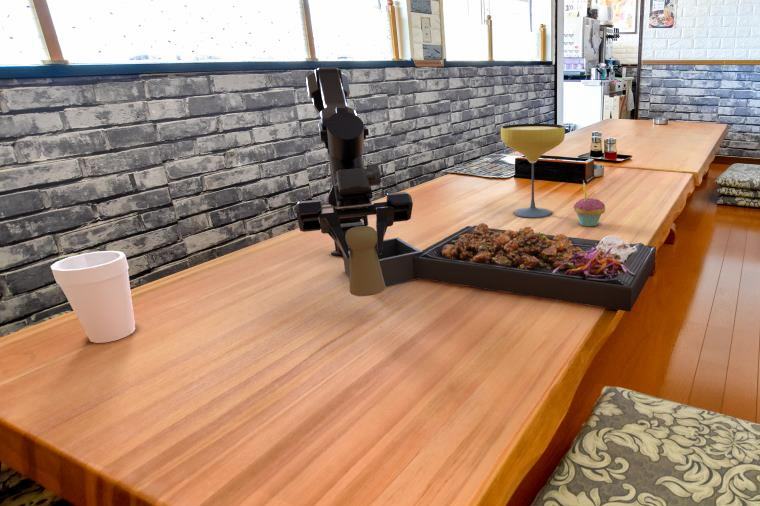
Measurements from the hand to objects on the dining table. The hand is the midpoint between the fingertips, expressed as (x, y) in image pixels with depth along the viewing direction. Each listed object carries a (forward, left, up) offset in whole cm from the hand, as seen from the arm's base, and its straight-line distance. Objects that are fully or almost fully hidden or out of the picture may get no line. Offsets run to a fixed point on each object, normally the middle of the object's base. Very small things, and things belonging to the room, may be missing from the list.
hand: (364, 255), depth 87 cm
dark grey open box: (-12, +19, -12) cm, 25 cm away
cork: (-1, +1, -7) cm, 7 cm away
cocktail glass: (-3, +78, -12) cm, 78 cm away
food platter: (+17, +32, -12) cm, 38 cm away
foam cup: (-37, -21, -12) cm, 44 cm away
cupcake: (+16, +73, -12) cm, 75 cm away
